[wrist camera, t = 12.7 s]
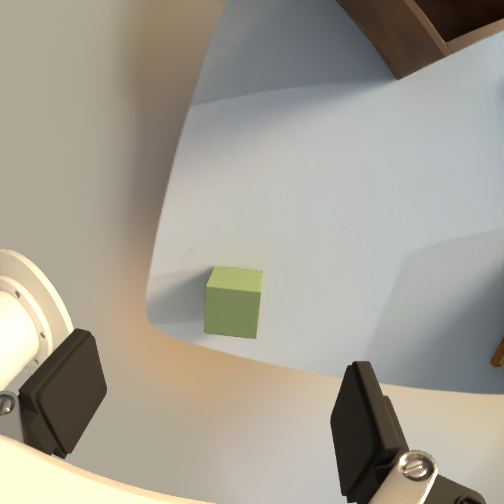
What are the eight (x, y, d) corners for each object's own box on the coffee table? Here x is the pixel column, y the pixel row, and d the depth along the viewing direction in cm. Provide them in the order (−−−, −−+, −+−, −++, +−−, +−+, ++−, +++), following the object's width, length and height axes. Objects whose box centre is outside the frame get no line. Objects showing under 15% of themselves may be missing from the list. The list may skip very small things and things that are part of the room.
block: (213, 308, 27) (204, 333, 23) (214, 266, 26) (205, 286, 22) (258, 313, 27) (256, 339, 23) (263, 271, 26) (261, 292, 22)
